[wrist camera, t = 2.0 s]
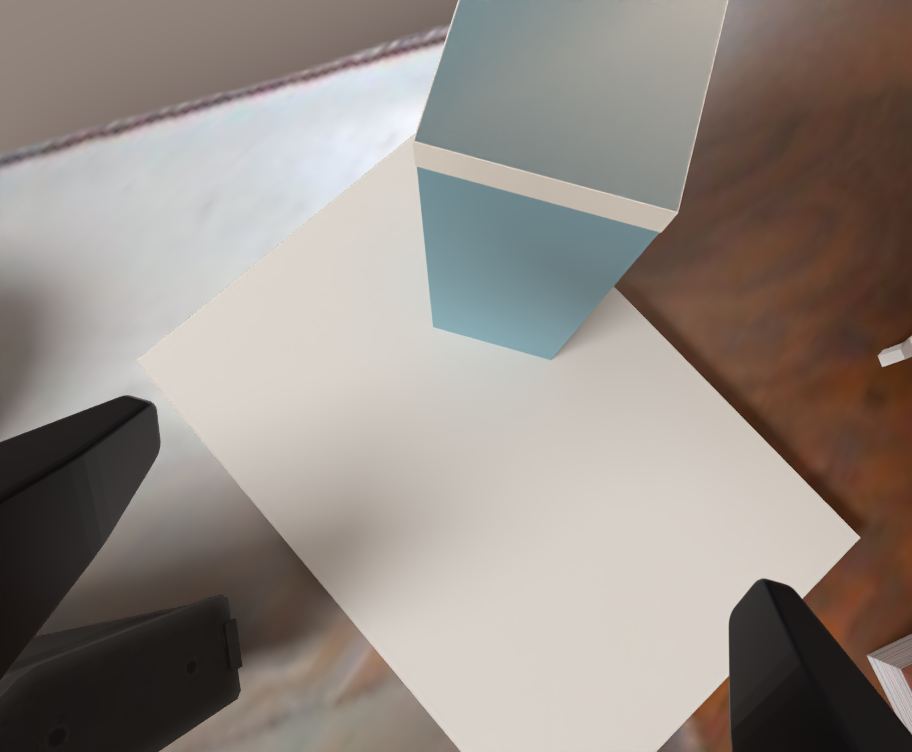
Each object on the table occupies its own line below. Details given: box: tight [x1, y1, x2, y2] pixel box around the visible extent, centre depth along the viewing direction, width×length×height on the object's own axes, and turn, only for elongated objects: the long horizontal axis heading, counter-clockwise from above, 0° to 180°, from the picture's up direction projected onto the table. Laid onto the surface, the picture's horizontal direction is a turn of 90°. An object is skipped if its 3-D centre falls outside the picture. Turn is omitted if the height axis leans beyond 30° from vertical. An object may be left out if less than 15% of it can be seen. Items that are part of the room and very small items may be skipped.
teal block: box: [413, 0, 728, 360], centre depth 17 cm, size 4×4×12 cm
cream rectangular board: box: [136, 134, 860, 752], centre depth 22 cm, size 22×15×1 cm
